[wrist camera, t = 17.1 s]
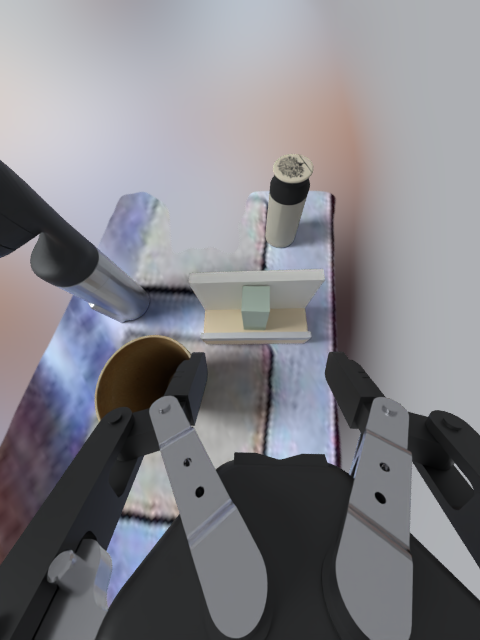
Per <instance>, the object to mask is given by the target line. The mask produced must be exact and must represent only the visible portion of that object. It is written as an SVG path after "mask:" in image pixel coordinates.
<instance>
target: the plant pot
mask: <svg viewBox="0 0 480 640" xmlns="http://www.w3.org/2000/svg"><path fill="white" fill-rule="evenodd" d="M190 357H191V354H190V352H189V351H188V350H187V349H186V348H185V347H184V346H183V345H182V344H180V343H179V342H177V341H176V340H174V339H172V338H169V337H166V336H161V335H149V336H143V337H140V338H137V339H134V340H132V341H130V342H128V343H127V344H125V345H124V346H122V347H121V348H120V349H119V350H117V351H116V352H115V353H114V354H113V355H112V357H111V358H110V359H109V360H108V362H107V363H106V365H105V366H104V368H103V370H102V372H101V374H100V376H99V379H98V382H97V386H96V391H95V409H96V414H97V418H98V421H99V422H100V421H101V419H102V418H103V417H104V416H105V415H106V414H107V413H109V412H110V411H112V410H114V409H116V408H119V407H128V408H130V409H131V411H132V413H134V412H137V411H141V410H145V409H148V408H150V407H151V405H152V404H153V403H154V402H155V401H156V400H158V399H159V398H161V397H163V396H164V394H165V392H166V390H167V388H168V386H169V384H170V382H171V380H172V378H173V376H174V374H175V373H176V370H177V368H178V366H179V365H180V364H181V363H182V362H183V361H184V360H189V359H190Z"/></svg>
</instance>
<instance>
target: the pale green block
mask: <svg viewBox="0 0 480 640" xmlns="http://www.w3.org/2000/svg"><path fill="white" fill-rule="evenodd" d="M241 313H242V320H243V327H244V330H265V328H266V325H267V321H268V317H269V313H270V286H243V290H242V307H241Z"/></svg>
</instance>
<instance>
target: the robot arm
mask: <svg viewBox="0 0 480 640" xmlns="http://www.w3.org/2000/svg"><path fill="white" fill-rule="evenodd" d="M38 234H40V235H39V239H38V241H37V243H36V245H35V247H34V249H33V251H32V254H31V259H30V263H31V268H32V270H33V271H34V273H35V274H36V275H37V276H38V277H40V278H41V279H43V280H44V281H46V282H48V283H50V284H52V285H55V286H57V287H59V288H61V289H63V290H65V291H67V292H69V293H71V294H73V295H75V296H77V297H79V298H81V299H83V300H84V301H86V302H88V303H89V305H90V307H91V308H92V309H93V310H95V311H98V312H100V313H102V314H104V315H106V316H108V317H110V318H112V319H114V320H117V321H119V322H121V323H123V322H125V321H128V320H134V319H137V318H139V317H140V316H142V315H143V314H144V313H145V312H146V310H147V308H148V306H149V302H150V300H149V295H148V293H147V292H146V291H145V290H144V289H143V288H142V287H141V286H140V285H138V284H137V283H136V282H135V281H134V280H133V279H132V278H130V277H129V276H128V275H127V274H126V273H125V272H124V271H122V270H121V269H120V268H119V267H118V266H117V265H116V264H114V263H113V262H112V261H111V260H110V259H109V258H108V257H107V256H105V255H104V254H103V253H102V252H101V251H100V250H99V249H97V248H96V247H95V246H94V245H93V244H92V243H91V242H89V241H88V240H87V239H86V238H85V237H83V236H82V235H81V234H80V233H79V232H78V231H77V230H75V229H74V228H73V227H72V226H71V225H70V224H69V223H67V222H66V221H65V220H64V219H63V218H62V217H61V216H60V215H59V214H58V213H57V212H56V211H55V210H54V209H53V208H52V207H50V206H49V205H48V204H47V203H46V202H45V201H44V200H43V199H42V198H41V197H40V196H39V195H38V194H37V193H36V192H35V191H34V190H33V189H32V188H31V187H30V186H29V185H28V184H27V183H26V182H25V181H23V180H22V179H21V178H20V177H19V176H18V175H17V174H16V173H15V172H14V171H13V170H12V169H10V168H9V167H8V166H7V165H6V164H4V163H3V162H2V161H1V160H0V258H1V257H4V256H6V255H8V254H10V253H11V252H13V251H15V250H16V249H18V248H19V247H21V246H22V245H24V244H25V243H27V242H28V241H29V240H31V239H33V238H34V237H35V236H37V235H38ZM207 375H208V372H207V364H206V357H205V353H204V352H193V353H192V355H191V357H190V359H189V360H184V361H183V362H182V363H181V364H180V365H179V366H178V368H177V370H176V373H175V374H174V376H173V378H172V380H171V382H170V384H169V386H168V388H167V390H166V392H165V394H164V396H163V397H161V398H159V399H158V400H156V401H155V402H154V403H153V404H152V405H151V407H150V408H148V409H145V410H141V411H137V412H134V413H132V411H131V409H130V408H128V407H119V408H116V409H114V410H112V411H110V412H109V413H107V414H106V415H105V416H104V417H103V418H102V419H101V421H100V422H99V424H98V425H97V426H96V428H95V429H94V431H93V432H92V434H91V435H90V437H89V438H88V439H87V441H86V442H85V444H84V445H83V447H82V448H81V450H80V451H79V452H78V454H77V455H76V457H75V458H74V460H73V461H72V463H71V464H70V466H69V467H68V468H67V470H66V471H65V473H64V474H63V476H62V477H61V479H60V480H59V481H58V483H57V484H56V486H55V487H54V489H53V490H52V492H51V493H50V494H49V496H48V497H47V499H46V500H45V502H44V503H43V505H42V506H41V507H40V509H39V510H38V512H37V513H36V515H35V516H34V518H33V519H32V521H31V522H30V523H29V525H28V526H27V528H26V529H25V531H24V532H23V534H22V535H21V536H20V538H19V539H18V541H17V542H16V544H15V545H14V547H13V548H12V549H11V551H10V552H9V554H8V555H7V557H6V558H5V560H4V561H3V562H2V564H1V565H0V640H480V600H479V599H478V598H477V597H476V596H475V595H473V593H472V592H471V591H469V590H468V589H467V588H466V587H465V586H464V585H463V584H462V583H461V582H460V581H459V580H458V579H457V578H456V577H455V576H454V575H453V574H452V573H451V572H450V571H449V570H448V569H447V568H446V567H445V566H444V565H443V564H442V563H441V562H440V561H438V559H437V558H435V556H433V555H432V554H431V553H430V552H429V551H428V550H427V549H426V548H425V547H424V546H423V545H422V544H421V543H420V542H419V541H418V540H417V539H416V538H415V537H414V536H413V535H412V534H411V533H410V507H411V476H412V475H411V474H412V462H413V464H414V465H415V467H416V468H417V470H418V471H419V473H420V475H421V476H422V478H423V479H424V481H425V482H426V484H427V486H428V487H429V489H430V490H431V492H432V493H433V495H434V497H435V498H436V500H437V501H438V503H439V505H440V506H441V508H442V509H443V511H444V512H445V514H446V515H447V517H448V519H449V520H450V522H451V524H452V525H453V527H454V528H455V530H456V532H457V533H458V535H459V536H460V538H461V539H462V541H463V543H464V544H465V546H466V547H467V549H468V551H469V552H470V554H471V555H472V557H473V558H474V560H475V562H476V563H477V565H478V566H479V568H480V435H479V434H478V433H477V432H476V431H475V430H474V429H473V428H472V427H471V426H470V425H468V424H467V423H466V422H465V421H464V420H462V419H460V418H459V417H457V416H455V415H453V414H451V413H448V412H445V411H439V410H435V411H432V412H431V413H430V415H429V416H428V417H426V416H422V415H418V414H414V413H410V412H407V410H406V409H405V408H404V407H403V406H402V405H401V404H399V403H398V402H396V401H394V400H392V399H389V398H386V397H385V396H384V395H383V393H382V392H381V391H380V390H379V388H378V387H377V386H376V384H375V383H374V382H373V381H372V380H371V379H370V377H369V376H368V374H367V373H365V371H364V369H363V368H362V367H361V366H360V365H359V364H358V363H356V362H355V361H353V360H349V359H348V357H347V356H346V355H345V353H344V352H329V355H328V359H327V364H326V369H325V377H326V381H327V383H328V385H329V387H330V389H331V391H332V393H333V395H334V397H335V399H336V401H337V403H338V405H339V407H340V409H341V411H342V413H343V415H344V417H345V419H346V421H347V423H348V425H349V427H350V428H353V429H359V430H360V432H361V434H360V437H359V440H358V444H357V448H356V451H355V455H354V459H353V462H352V466H351V469H350V472H349V474H348V473H347V472H345V471H343V470H342V469H340V468H339V467H337V466H335V465H332V464H330V463H327V460H326V457H325V454H300V455H296V456H293V457H289V458H286V459H282V460H278V459H275V458H271V457H268V456H265V455H261V454H258V453H237V452H235V453H234V460H232V461H229V462H227V463H225V464H223V465H221V466H220V467H218V468H217V469H216V470H215V468H214V466H213V464H212V462H211V460H210V458H209V456H208V454H207V452H206V450H205V448H204V446H203V444H202V443H201V441H200V439H199V437H198V435H197V433H196V431H195V429H194V428H193V427H191V426H195V423H196V419H197V415H198V411H199V408H200V404H201V400H202V397H203V393H204V389H205V385H206V382H207ZM159 450H160V451H161V455H162V458H163V461H164V464H165V468H166V471H167V474H168V477H169V481H170V484H171V487H172V490H173V494H174V497H175V500H176V503H177V507H178V510H179V513H180V514H179V515H178V517H177V518H176V519H175V521H174V522H173V523H172V524H171V526H170V527H169V528H168V529H167V531H166V532H165V533H164V535H163V536H162V537H161V538H160V540H159V541H158V542H157V544H156V545H155V546H154V547H153V549H152V550H151V551H150V552H149V554H148V555H147V556H146V558H145V559H144V560H143V561H142V563H141V564H140V565H139V567H138V568H137V569H136V570H135V572H134V573H133V574H132V576H131V577H130V578H129V579H128V581H127V582H126V583H125V584H124V586H123V587H122V588H121V590H120V591H119V593H118V594H117V596H116V597H115V599H114V600H113V602H112V604H111V605H110V607H109V609H108V606H107V590H108V585H109V581H110V577H111V572H112V560H111V557H110V555H109V554H108V553H107V552H106V550H107V548H108V545H109V543H110V540H111V538H112V535H113V533H114V530H115V528H116V525H117V523H118V520H119V518H120V515H121V513H122V510H123V508H124V505H125V502H126V500H127V497H128V495H129V492H130V490H131V487H132V485H133V482H134V480H135V477H136V475H137V472H138V470H139V467H140V465H141V462H142V460H143V457H144V455H147V454H150V453H153V452H156V451H159ZM454 463H455V464H456V465H457V466H458V467H459V469H460V470H461V471H462V472H463V473H464V475H465V476H466V477H467V478H468V480H469V481H470V482H471V484H472V486H473V489H474V490H473V489H472V488H471V486H470V485H469V484H468V483H467V481H466V480H465V479H464V478H463V476H462V475H461V474H460V472H459V471H458V470H457V469H456V467H455V466H454V465H453V464H454Z"/></svg>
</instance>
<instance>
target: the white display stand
mask: <svg viewBox="0 0 480 640" xmlns="http://www.w3.org/2000/svg"><path fill="white" fill-rule="evenodd" d="M324 280H325V277H324V270H323V269H304V270H270V271H236V272H202V273H190V274H189V285H190V287H191V288H192V290H193V291H194V293H195V295H196V296H197V298H198V299H199V301H200V303H201V304H202V306H203V307H204V309H205V320H204V333H201V339H202V340H203V341H204V342H205V343H206V344H304V343H305V342H306V341H308V340H309V339H310V338H311V332H308V330H307V322H306V313H305V307H306V306H307V305H308V303H309V302H310V300H311V299H312V298H313V296H314V295H315V293H316V292H317V290H318V289H319V288H320V286H321V285H322V283H323V282H324ZM243 286H270V313H269V317H268V321H267V325H266V328H265V330H244V327H243V320H242V313H241V307H242V290H243Z"/></svg>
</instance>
